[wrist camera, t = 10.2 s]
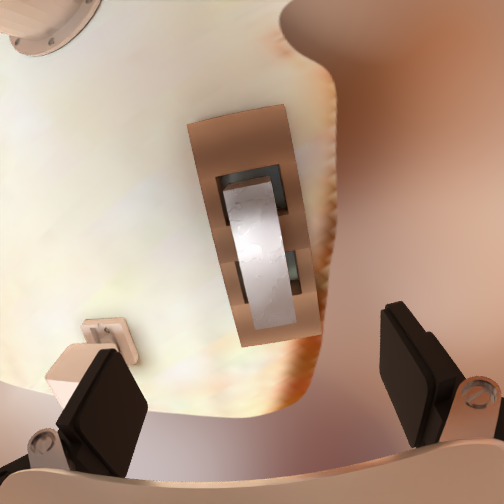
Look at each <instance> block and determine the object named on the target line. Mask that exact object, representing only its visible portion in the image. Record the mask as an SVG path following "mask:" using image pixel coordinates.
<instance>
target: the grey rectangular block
mask: <svg viewBox="0 0 504 504" xmlns="http://www.w3.org/2000/svg"><path fill="white" fill-rule="evenodd" d="M223 194H224V198H225V203H226V207H227V211H228V216H229V220H230V225H231V229H232V233H233V238H234V242H235V246H236V251H237V255H238V259H239V263H240V268H241V272H242V276H243V280H244V285H245V289H246V293H247V297H248V302H249V306H250V310H251V314H252V318H253V323H254V327H255V330H258V329H264V328H270V327H276V326H282V325H287V324H293V323H297V321H296V315H295V309H294V303H293V298H292V292H291V286H290V280H289V274H288V269H287V263H286V257H285V252H284V246H283V241H282V236H281V230H280V225H279V219H278V214H277V209H276V204H275V199H274V193H273V188H272V183H271V179H270V176H264V177H258V178H253V179H248V180H243V181H238V182H234V183H229V184H228V186H227V187H226V188H225V190H224V191H223Z"/></svg>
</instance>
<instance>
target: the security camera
mask: <svg viewBox="0 0 504 504" xmlns="http://www.w3.org/2000/svg"><path fill="white" fill-rule="evenodd" d="M105 327H107V328H108V329H109V331H110V333H107V332H106V331H105ZM81 329H82V332H83V334H84V337H85V339H86V341H87V344H72V345H70V346H68V347H67V348H66V349H65V351H64V352H63V353H62V354H61V356H60V357H59V358H58V359H57V361H56V362H55V363H54V364H53V366H52V367H51V368H50V370H49V371H48V372H47V373H46V375H45V380H46V381H47V383H48V385H49V387H50V388H51V390H52V392H53V393H54V395H55V397H56V398H57V400H58V402H59V403H60V405H61V406H62V408H63V410H64V408H65V406H66V404H67V403H68V401H69V399H70V398H71V396H72V394H73V392H74V391H75V389H76V387H77V386H78V384H79V382H80V381H81V379H82V377H83V376H84V374H85V372H86V371H87V369H88V367H89V366H90V364H91V363H92V361H93V359H94V358H95V356H96V355H97V353H98V351H99V350H101V349H110V348H114V349H116V350H117V352H120V353H121V354H122V356H123V358H124V360H125V362H126V364H127V365H135V364H136V362H137V360H138V358H139V355H138V353H137V350H136V348H135V345H134V342H133V340H132V337H131V334H130V332H129V329H128V326H127V323H126V321H125V319H124V318H110V319H92V320H85V321H84V323H83V324H82V325H81Z"/></svg>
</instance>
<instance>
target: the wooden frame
mask: <svg viewBox="0 0 504 504" xmlns="http://www.w3.org/2000/svg"><path fill="white" fill-rule="evenodd" d="M187 128H188V133H189V137H190V142H191V146H192V151H193V155H194V160H195V164H196V168H197V173H198V177H199V181H200V186H201V190H202V194H203V198H204V203H205V207H206V211H207V215H208V219H209V223H210V227H211V232H212V236H213V240H214V244H215V248H216V252H217V256H218V260H219V264H220V267H221V271H222V275H223V279H224V283H225V287H226V291H227V295H228V298H229V302H230V306H231V310H232V313H233V317H234V321H235V325H236V328H237V332H238V336H239V339H240V343H241V346H242V347H248V346H255V345H262V344H268V343H275V342H281V341H287V340H292V339H298V338H304V337H309V336H314V335H320V334H322V331H321V323H320V314H319V306H318V298H317V291H316V283H315V276H314V269H313V262H312V255H311V248H310V242H309V235H308V229H307V223H306V217H305V211H304V205H303V199H302V193H301V187H300V182H299V176H298V171H297V165H296V160H295V155H294V150H293V144H292V139H291V134H290V129H289V125H288V120H287V115H286V110H285V106H284V104H281V105H275V106H269V107H264V108H258V109H253V110H248V111H243V112H238V113H234V114H229V115H225V116H220V117H216V118H212V119H207V120H203V121H199V122H195V123H191V124H188V125H187ZM277 164H278V167H279V172H280V177H281V182H282V188H283V193H284V198H285V204H286V207H283V208H277V214H278V219H279V225H280V230H281V236H282V241H283V246H284V252H289V251H294V255H295V261H296V267H297V273H298V279H299V280H294V281H290V286H291V292H292V298H293V303H294V309H295V315H296V321H297V323H293V324H287V325H282V326H276V327H270V328H264V329H258V330H255V327H254V323H253V318H252V314H251V310H250V306H249V302H248V297H247V293H246V289H245V285H244V280H243V276H242V272H241V268H240V263H239V259H238V255H237V251H236V246H235V242H234V238H233V233H232V229H231V225H230V220H229V216H228V211H227V207H226V203H225V198H224V194H223V191H224V190H223V186H222V181H221V177H220V176H222V175H226V174H231V173H236V172H241V171H246V170H251V169H256V168H261V167H266V166H271V165H277Z"/></svg>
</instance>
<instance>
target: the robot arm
mask: <svg viewBox="0 0 504 504" xmlns="http://www.w3.org/2000/svg"><path fill="white" fill-rule="evenodd" d="M99 3H100V0H0V33H4V34H7V35H9V38H10V41H11V44H12V46H13V47H14V49H15V50H17V51H18V52H19V53H22V54H25V55H29V56H42V55H45V54H48V53H51V52H53V51H55V50H57V49H59V48H60V47H62V46H63V45H65V44H66V43H68V42H69V41H70V40H71V39H72V38H73V37H75V36H76V35H77V34H78V33H79V32H80V30H81V29H82V28H83V27H84V26H85V25H86V24H87V22H88V21H89V20H90V18H91V17H92V16H93V14H94V12H95V10H96V9H97V7H98V5H99ZM380 334H381V335H380V337H381V338H380V367H379V368H380V375H381V378H382V381H383V383H384V385H385V387H386V390H387V392H388V394H389V397H390V399H391V401H392V403H393V406H394V408H395V410H396V413H397V415H398V417H399V420H400V422H401V425H402V427H403V429H404V432H405V434H406V437H407V439H408V442H409V444H410V446H411V447H412V448H414V447H416V449H413V450H409V451H405V452H401V453H398V454H394V455H391V456H387V457H383V458H380V459H376V460H372V461H368V462H363V463H359V464H354V465H350V466H345V467H341V468H336V469H331V470H326V471H320V472H314V473H308V474H302V475H295V476H287V477H279V478H270V479H259V480H247V481H229V482H168V481H150V480H138V479H128V478H125V477H126V475H127V472H128V469H129V465H130V462H131V459H132V456H133V453H134V450H135V447H136V443H137V440H138V437H139V434H140V431H141V428H142V425H143V422H144V419H145V416H146V413H147V410H148V404H147V401H146V399H145V398H144V396H143V394H142V392H141V391H140V389H139V387H138V385H137V383H136V381H135V380H134V378H133V376H132V374H131V372H130V370H129V368H128V366H127V364H126V362H125V360H124V358H123V356H122V354H121V353H120V352H117V350H116V349H114V348H110V349H101V350H99V351H98V353H97V355H96V356H95V358H94V359H93V361H92V363H91V364H90V366H89V367H88V369H87V371H86V372H85V374H84V376H83V377H82V379H81V381H80V382H79V384H78V386H77V387H76V389H75V391H74V392H73V394H72V396H71V398H70V399H69V401H68V403H67V404H66V406H65V408H64V410H63V411H62V414H61V415H60V417H59V418H58V420H57V422H56V425H57V427H58V428H59V430H58V432H57V431H55V430H54V429H51V428H48V429H47V428H46V429H42V430H40V431H38V432H36V433H35V434H34V435H33V436H32V437H31V439H30V440H29V443H28V449H27V450H28V454H27V455H25V456H23V457H21V458H19V459H17V460H15V461H13V462H11V463H9V464H7V465H5V466H3V467H1V468H0V504H504V398H503V397H501V390H500V387H499V385H498V384H497V383H496V382H495V381H493V380H492V379H490V378H487V377H483V376H475V377H470V378H468V379H466V378H465V377H464V375H463V374H462V372H461V371H460V370H459V368H458V367H457V365H456V364H455V363H454V362H453V360H452V359H451V357H450V356H449V354H448V353H447V352H446V350H445V349H444V348H443V346H442V345H441V344H440V343H439V341H438V340H437V338H436V337H435V336H434V334H433V333H431V332H426V331H425V330H424V329H423V327H422V326H421V325H420V324H419V322H418V321H417V320H416V318H415V317H414V316H413V314H412V313H411V312H410V310H409V309H408V308H407V306H406V305H405V304H404V303H403V302H402V301H399V302H395V303H391V304H387V305H386V306H385V309H384V310H381V329H380Z"/></svg>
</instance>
